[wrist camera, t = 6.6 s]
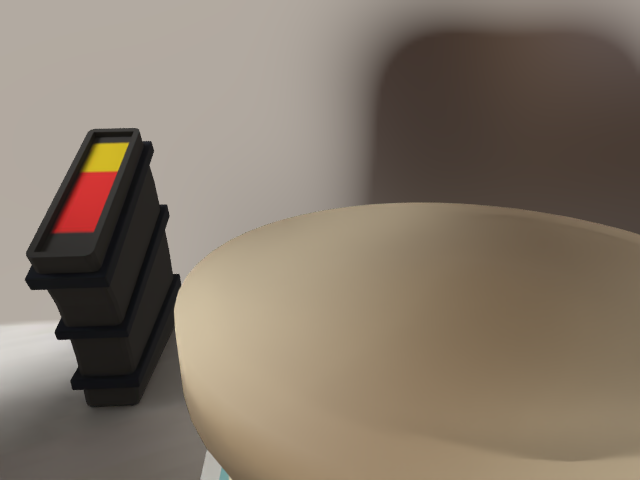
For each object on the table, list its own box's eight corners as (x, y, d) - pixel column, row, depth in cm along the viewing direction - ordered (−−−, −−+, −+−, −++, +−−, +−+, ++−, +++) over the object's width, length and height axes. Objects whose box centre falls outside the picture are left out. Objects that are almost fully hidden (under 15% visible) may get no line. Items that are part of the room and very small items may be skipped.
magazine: (190, 280, 41) (147, 125, 30) (162, 436, 32) (86, 291, 21) (145, 282, 41) (85, 126, 30) (103, 439, 32) (-4, 294, 21)
